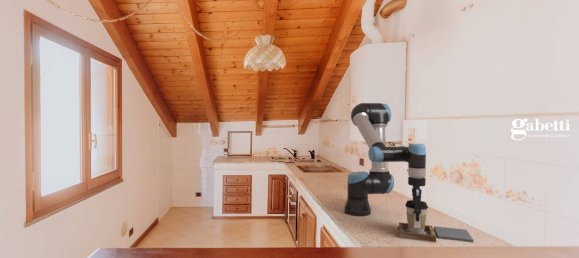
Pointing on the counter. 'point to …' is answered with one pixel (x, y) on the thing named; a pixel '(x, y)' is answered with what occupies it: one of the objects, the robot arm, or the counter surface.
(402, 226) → the walnut collar
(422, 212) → the coffee cup
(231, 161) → the counter surface
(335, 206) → the counter surface
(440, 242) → the counter surface
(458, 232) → the trivet mat
